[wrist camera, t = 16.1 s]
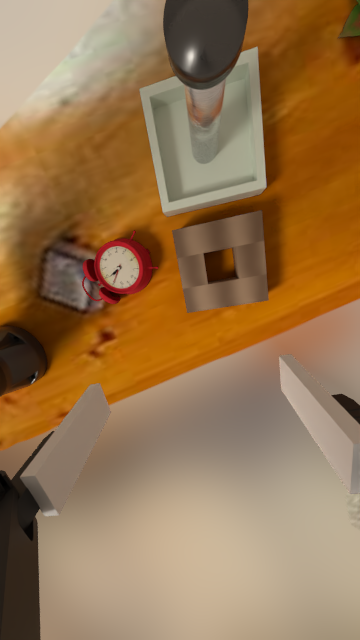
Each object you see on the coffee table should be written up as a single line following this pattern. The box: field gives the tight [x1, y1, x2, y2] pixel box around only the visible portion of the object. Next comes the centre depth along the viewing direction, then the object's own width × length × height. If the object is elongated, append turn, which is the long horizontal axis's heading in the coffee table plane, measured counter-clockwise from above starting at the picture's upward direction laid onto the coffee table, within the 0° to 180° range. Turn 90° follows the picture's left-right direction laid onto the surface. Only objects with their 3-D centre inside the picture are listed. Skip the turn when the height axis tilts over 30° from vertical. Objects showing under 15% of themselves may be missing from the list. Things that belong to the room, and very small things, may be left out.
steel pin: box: [163, 0, 248, 164], centre depth 23 cm, size 6×6×18 cm
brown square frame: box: [172, 210, 268, 313], centre depth 35 cm, size 14×14×4 cm
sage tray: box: [139, 47, 266, 217], centre depth 31 cm, size 16×16×4 cm
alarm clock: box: [82, 230, 158, 304], centre depth 38 cm, size 10×6×15 cm
